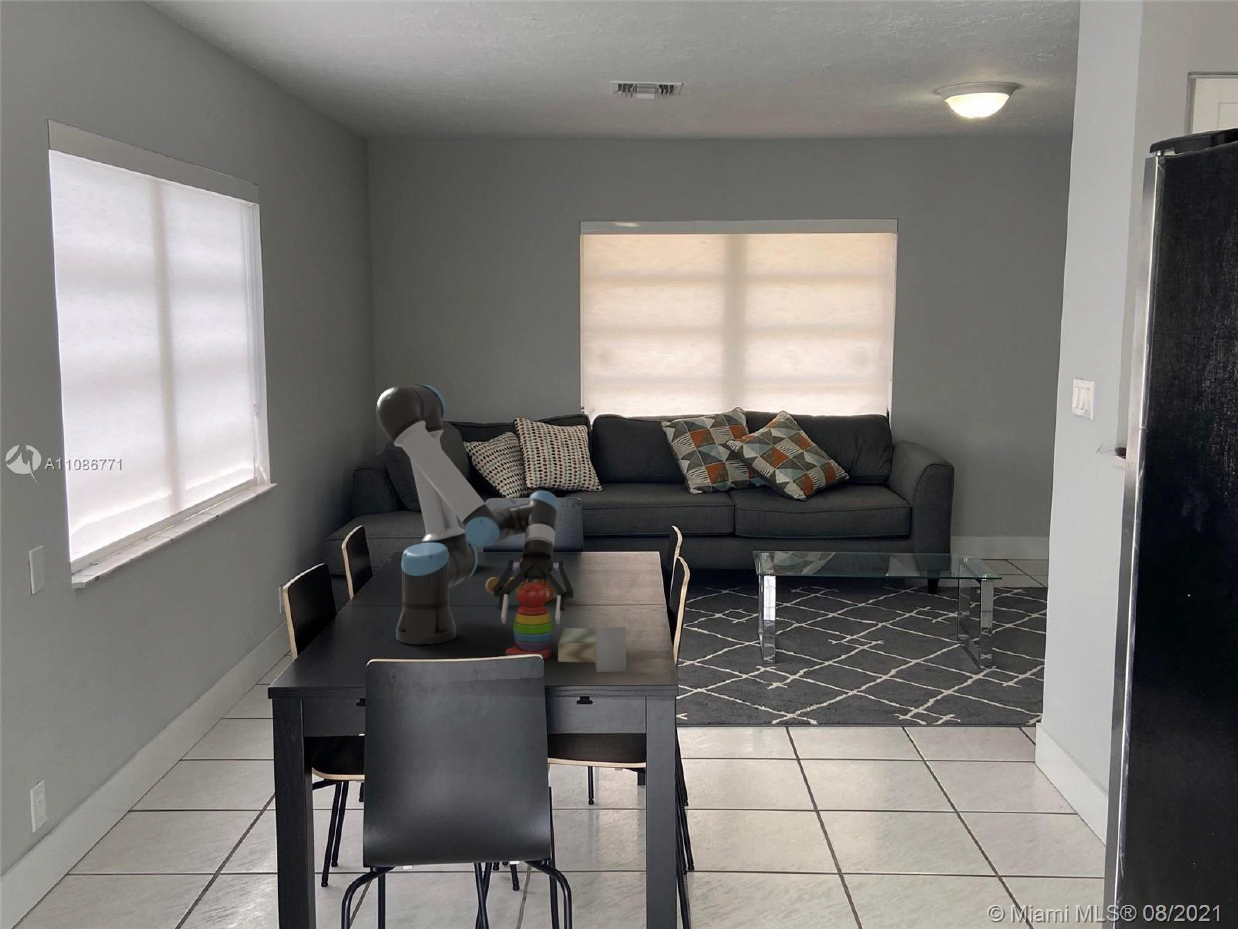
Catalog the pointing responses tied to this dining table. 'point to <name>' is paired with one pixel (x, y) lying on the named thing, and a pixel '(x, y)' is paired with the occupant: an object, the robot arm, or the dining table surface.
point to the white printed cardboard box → (610, 649)
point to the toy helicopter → (521, 585)
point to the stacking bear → (532, 622)
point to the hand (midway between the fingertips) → (530, 621)
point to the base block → (577, 645)
